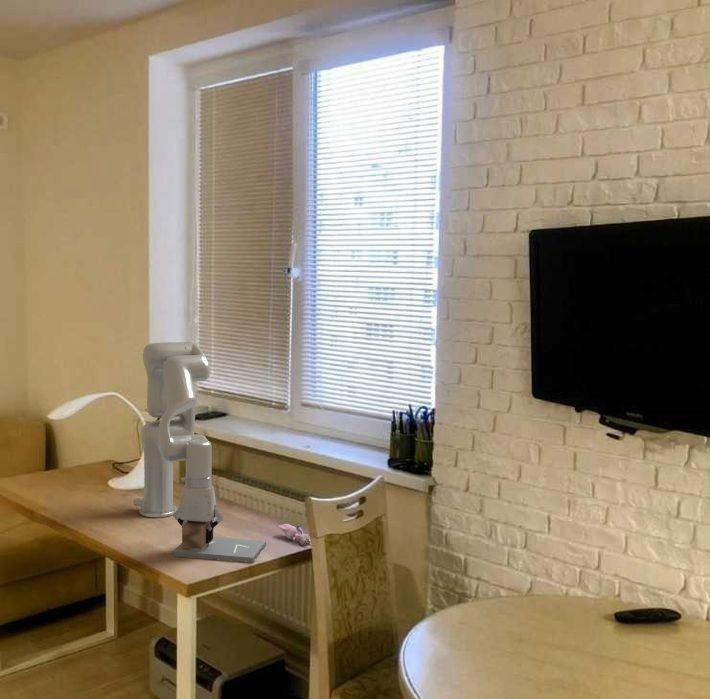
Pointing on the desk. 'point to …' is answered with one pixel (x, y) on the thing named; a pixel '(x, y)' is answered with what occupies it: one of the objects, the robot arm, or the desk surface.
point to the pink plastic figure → (295, 533)
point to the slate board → (225, 550)
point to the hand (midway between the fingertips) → (198, 540)
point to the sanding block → (194, 535)
